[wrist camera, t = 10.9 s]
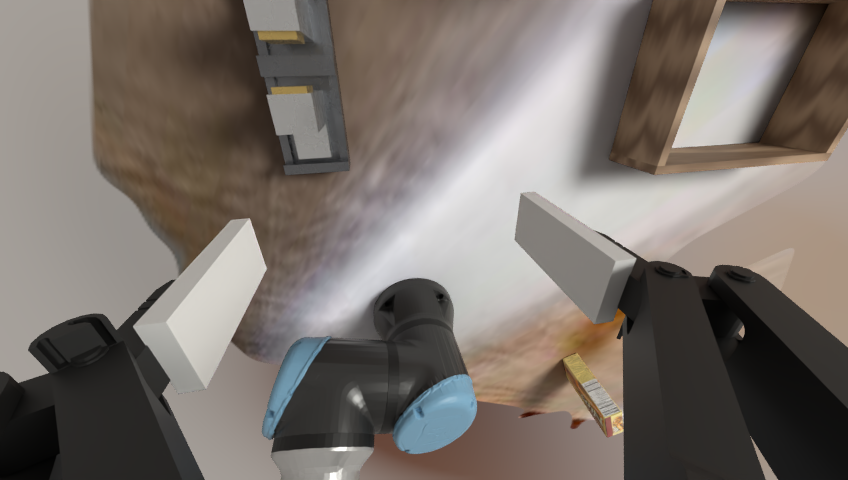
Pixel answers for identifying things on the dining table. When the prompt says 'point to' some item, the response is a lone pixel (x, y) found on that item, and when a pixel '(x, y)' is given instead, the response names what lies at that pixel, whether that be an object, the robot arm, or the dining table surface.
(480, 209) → the dining table surface
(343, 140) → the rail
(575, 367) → the candy box
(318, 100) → the gold-topped white block
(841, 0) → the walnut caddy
